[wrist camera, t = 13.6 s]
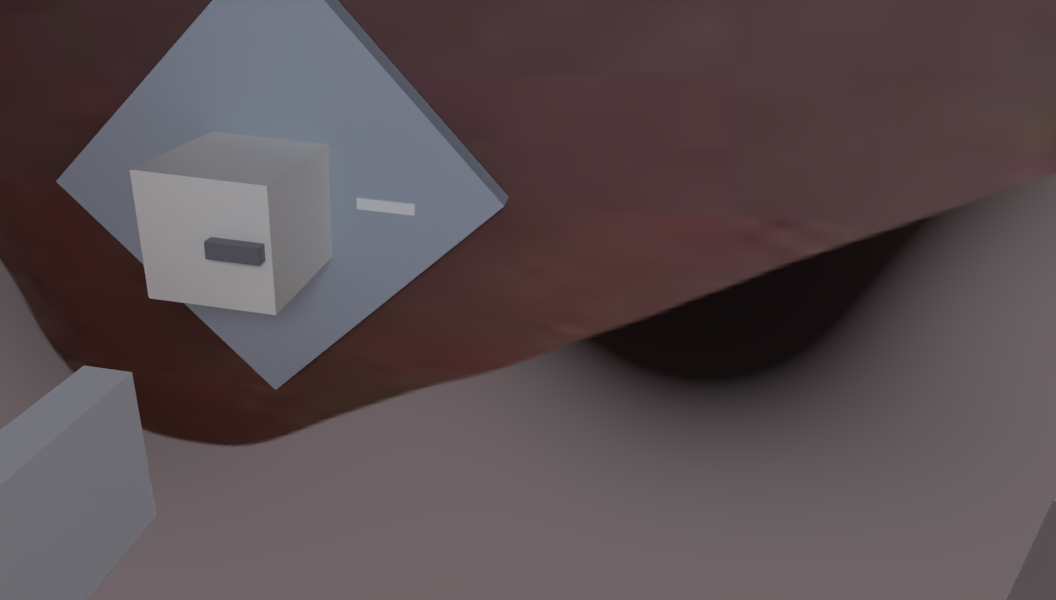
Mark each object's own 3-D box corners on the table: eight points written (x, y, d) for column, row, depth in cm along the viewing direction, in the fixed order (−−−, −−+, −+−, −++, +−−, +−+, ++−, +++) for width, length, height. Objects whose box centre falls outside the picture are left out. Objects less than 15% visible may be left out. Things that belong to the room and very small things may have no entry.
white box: (223, 242, 41) (141, 303, 35) (212, 131, 39) (120, 173, 32) (332, 256, 41) (270, 321, 34) (328, 144, 38) (260, 190, 31)
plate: (74, 173, 42) (-25, 215, 36) (281, -64, 36) (205, -64, 30) (286, 376, 46) (230, 446, 40) (508, 196, 40) (483, 246, 33)
